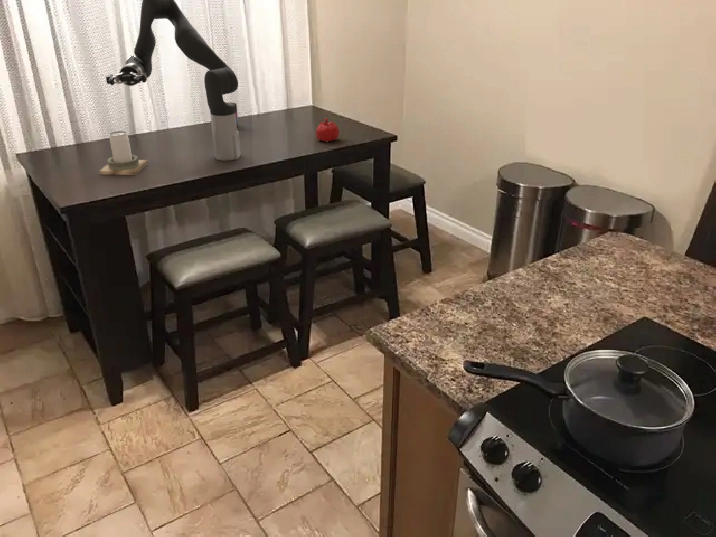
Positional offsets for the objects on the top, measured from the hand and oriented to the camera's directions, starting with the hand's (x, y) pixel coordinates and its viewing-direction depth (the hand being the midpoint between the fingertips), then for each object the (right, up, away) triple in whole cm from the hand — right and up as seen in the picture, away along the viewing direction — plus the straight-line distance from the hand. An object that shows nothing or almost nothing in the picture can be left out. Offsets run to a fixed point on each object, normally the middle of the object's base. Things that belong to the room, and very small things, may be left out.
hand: (123, 82), depth 227 cm
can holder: (+1, -32, -1) cm, 32 cm away
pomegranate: (+75, -15, +32) cm, 82 cm away
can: (+1, -31, -2) cm, 32 cm away
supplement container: (+30, -6, +48) cm, 57 cm away
